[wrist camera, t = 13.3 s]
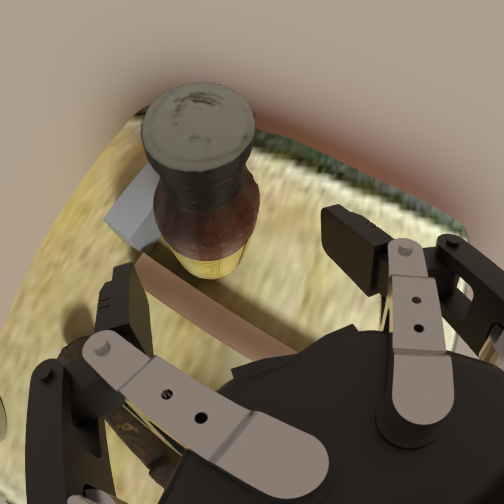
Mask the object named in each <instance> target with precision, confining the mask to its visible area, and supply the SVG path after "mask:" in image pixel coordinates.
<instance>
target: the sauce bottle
mask: <svg viewBox="0 0 504 504" xmlns="http://www.w3.org/2000/svg"><path fill="white" fill-rule="evenodd" d="M255 130H256V122H255V117H254V113H253V112H252V109H251V107H250V105H249V103H248V102H247V101H246V100H245V99H244V97H243V96H241V95H240V94H239V93H237V92H236V91H235V90H233V89H231V88H229V87H226V86H223V85H221V84H216V83H192V84H187V85H183V86H180V87H176V88H173V89H171V90H169V91H168V92H165V93H164V94H162V95H160V96H159V97H158V98H157V99H156V100H155V101H154V102H153V103H152V104H151V105H150V107H149V108H148V110H147V112H146V114H145V116H144V119H143V122H142V124H141V139H142V143H143V146H144V149H145V153H146V157H147V159H148V161H149V163H150V165H151V166H152V168H153V169H154V170H155V172H156V173H158V174H159V175H160V179H159V182H158V184H157V187H156V190H155V193H154V198H153V211H154V217H155V221H156V224H157V227H158V229H159V231H160V233H161V235H162V237H163V238H164V240H165V241H166V243H167V244H168V246H169V247H170V249H171V250H172V252H173V253H174V255H175V256H176V257H177V259H178V260H179V261H180V263H181V264H182V265H183V267H184V268H185V269H186V270H187V271H188V272H190V273H191V274H193V275H195V276H196V277H198V278H203V279H219V278H221V277H224V276H226V275H228V274H230V273H231V272H233V271H234V270H235V269H236V268H237V267H238V265H239V264H240V263H241V261H242V259H243V257H244V255H245V252H246V250H247V247H248V244H249V242H250V239H251V236H252V234H253V231H254V228H255V225H256V220H257V214H258V212H259V206H260V199H259V197H260V195H259V188H258V184H257V183H256V182H255V181H254V179H253V175H252V174H251V173H250V172H249V171H248V169H247V167H246V164H245V163H246V161H247V159H248V158H249V156H250V153H251V151H252V146H253V143H254V139H255Z"/></svg>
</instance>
